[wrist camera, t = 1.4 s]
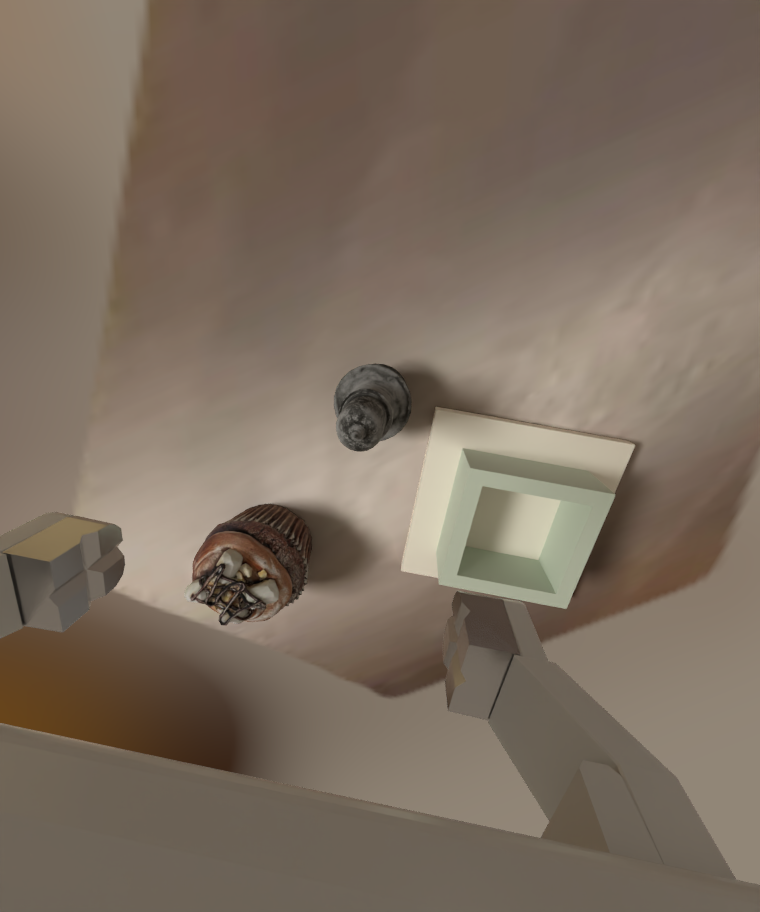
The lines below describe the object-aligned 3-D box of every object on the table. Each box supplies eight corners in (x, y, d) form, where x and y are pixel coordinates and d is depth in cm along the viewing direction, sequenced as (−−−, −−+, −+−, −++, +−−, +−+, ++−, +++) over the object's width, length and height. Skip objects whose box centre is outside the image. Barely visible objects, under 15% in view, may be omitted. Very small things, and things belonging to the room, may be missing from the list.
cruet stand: (435, 406, 30) (439, 423, 25) (627, 440, 30) (673, 465, 25) (401, 563, 36) (399, 604, 31) (562, 594, 36) (588, 641, 30)
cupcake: (212, 545, 37) (144, 619, 28) (254, 476, 34) (194, 533, 25) (290, 593, 39) (251, 679, 29) (339, 530, 36) (311, 604, 26)
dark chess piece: (418, 367, 30) (420, 393, 18) (404, 435, 32) (397, 496, 20) (348, 353, 30) (307, 370, 18) (337, 422, 32) (295, 475, 20)
